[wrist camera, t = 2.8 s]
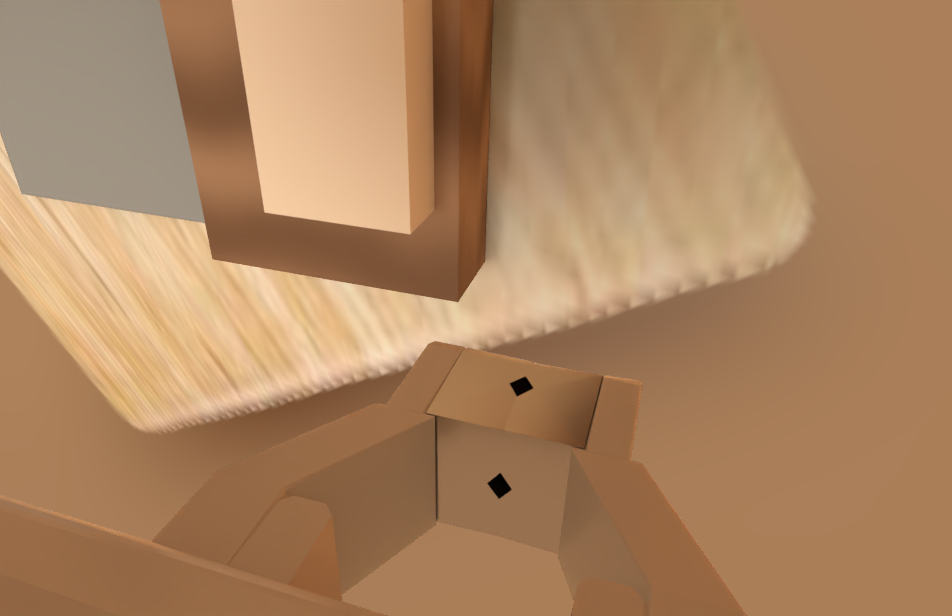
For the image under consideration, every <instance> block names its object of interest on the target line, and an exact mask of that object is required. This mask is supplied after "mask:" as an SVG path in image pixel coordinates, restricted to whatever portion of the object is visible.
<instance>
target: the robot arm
mask: <svg viewBox="0 0 952 616" xmlns="http://www.w3.org/2000/svg"><path fill="white" fill-rule="evenodd" d="M641 391H642V383H641V381H637V380H631V379H625V378H619V377H613V376H606V375H605V376H604V377H603V376H602V375H597V374H591V373H586V372H580V371H575V370H569V369H564V368H558V367H553V366H547V365H542V364H536V363H534V362H531V361H526V360H522V359H517V358H512V357H508V356H503V355H498V354H494V353H489V352H485V351H480V350H476V349H471V348H467V349H466V348H465V347H462V346H457V345H451V344H446V343H441V342H436V341H435V342H432V343H430V344H428V345H427V347H426V348H425V350H424V351H423V352H422V354H421V355H420V357H419V358H418V360H417V361H416V362H415V364H414V365H413V367H412V368H411V370H410V371H409V372H408V374H407V375H406V377H405V378H404V380H403V381H402V383H401V384H400V385H399V387H398V388H397V390H396V391H395V393H394V394H393V396H392V397H391V398H390V400H389V401H388V403H387V404H386V405H383V404H378V403H375V404H373V405H370V406H368V407H366V408H364V409H361V410H359V411H357V412H354V413H352V414H349V415H347V416H345V417H342V418H340V419H337V420H335V421H333V422H330V423H328V424H326V425H323V426H321V427H319V428H316V429H314V430H312V431H309V432H307V433H305V434H302V435H300V436H297V437H295V438H293V439H290V440H288V441H285V442H283V443H281V444H278V445H276V446H274V447H271V448H269V449H267V450H264V451H262V452H260V453H257V454H255V455H252V456H250V457H248V458H246V459H243V460H241V461H239V462H236V463H234V464H231V465H229V466H226V467H224V468H222V469H219V470H217V471H216V472H215V473H214V474H213V475H212V476H211V477H210V478H209V479H208V481H207V482H206V483H205V484H204V485H203V486H202V487H201V488H200V489H199V490H198V491H197V493H195V495H194V496H193V497H192V498H191V499H190V500H189V501H188V502H187V503H186V504H185V505H184V506H183V507H182V509H181V510H180V511H179V512H178V513H177V514H176V515H175V516H174V517H173V518H172V519H171V521H169V523H168V524H167V525H166V526H165V527H164V528H163V529H162V530H161V531H160V532H159V533H158V534H157V536H156V537H155V538H154V539H153V540H152V541H151V542H150V541H147V540H144V539H141V538H137V537H134V536H131V535H128V534H124V533H121V532H118V531H115V530H112V529H109V528H105V527H102V526H99V525H95V524H93V523H89V522H86V521H83V520H80V519H77V518H73V517H70V516H67V515H64V514H61V513H57V512H54V511H51V510H48V509H45V508H41V507H38V506H35V505H31V504H29V503H25V502H22V501H19V500H16V499H13V498H9V497H6V496H3V495H0V616H387V615H384V614H381V613H377V612H374V611H371V610H368V609H365V608H361V607H358V606H355V605H352V604H349V603H345V602H342V594H343V593H345V592H346V591H347V590H349V589H350V588H351V587H353V586H354V585H356V584H357V583H358V582H360V581H361V580H362V579H364V578H365V577H366V576H368V575H369V574H370V573H372V572H373V571H374V570H376V569H377V568H378V567H380V566H381V565H382V564H384V563H385V562H386V561H388V560H389V559H391V558H392V557H393V556H395V555H396V554H397V553H399V552H400V551H401V550H403V549H404V548H405V547H407V546H408V545H409V544H411V543H412V542H414V541H415V540H416V539H418V538H419V537H420V536H422V535H423V534H424V533H426V532H427V531H428V530H430V529H431V528H432V527H434V526H435V525H436V521H437V522H441V523H445V524H450V525H454V526H458V527H462V528H467V529H471V530H475V531H479V532H484V533H488V534H492V535H496V536H499V537H503V538H506V539H509V540H513V541H516V542H520V543H523V544H526V545H530V546H533V547H537V548H540V549H543V550H546V551H550V552H553V553H557V554H558V559H559V561H560V564H561V567H562V570H563V572H564V575H565V578H566V581H567V584H568V586H569V589H570V592H571V594H572V597H573V600H574V604H573V608H572V612H571V616H747V615H746V614H745V612H744V611H743V609H742V608H741V606H740V605H739V604H738V602H737V601H736V599H735V598H734V596H733V595H732V593H731V592H730V590H729V589H728V587H727V586H726V584H725V583H724V582H723V580H722V579H721V577H720V576H719V574H718V573H717V571H716V570H715V568H714V567H713V566H712V564H711V563H710V561H709V560H708V558H707V557H706V555H705V554H704V552H703V551H702V550H701V548H700V547H699V545H698V544H697V543H696V541H695V540H694V538H693V537H692V535H691V534H690V532H689V531H688V529H687V528H686V526H685V525H684V523H683V522H682V520H681V519H680V518H679V516H678V515H677V513H676V512H675V510H674V509H673V507H672V506H671V504H670V503H669V502H668V500H667V499H666V497H665V496H664V494H663V493H662V491H661V490H660V489H659V487H658V485H657V484H656V483H655V481H654V480H653V478H652V477H651V475H650V474H649V472H648V471H647V469H646V468H645V467H644V465H643V464H642V463H639V462H635V461H631V456H632V450H633V443H634V436H635V430H636V422H637V417H638V410H639V404H640V397H641Z"/></svg>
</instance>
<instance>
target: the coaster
mask: <svg viewBox="0 0 952 616" xmlns="http://www.w3.org/2000/svg"><path fill="white" fill-rule="evenodd" d="M232 5H233V12H234V18H235V25H236V31H237V38H238V44H239V50H240V57H241V63H242V70H243V76H244V83H245V89H246V96H247V102H248V109H249V115H250V122H251V128H252V135H253V141H254V148H255V154H256V161H257V167H258V174H259V180H260V186H261V193H262V199H263V206H264V212H265V213H271V214H278V215H285V216H291V217H298V218H305V219H311V220H318V221H324V222H331V223H338V224H344V225H351V226H358V227H364V228H371V229H378V230H384V231H391V232H397V233H404V234H411V233H412V232H413V231H414V230H415V229H416V228H417V227H418V226H419V225H420V224H421V223H422V222H423V221H424V220H425V219H426V218H427V217H428V216H429V215H430V214H431V213H432V212H433V211H434V210H435V209H434V123H433V36H432V0H232Z"/></svg>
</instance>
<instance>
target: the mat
mask: <svg viewBox="0 0 952 616" xmlns="http://www.w3.org/2000/svg"><path fill="white" fill-rule="evenodd" d="M0 133H1V136H2V139H3V142H4V145H5V148H6V150H7V153H8V156H9V159H10V162H11V165H12V167H13V170H14V173H15V176H16V179H17V182H18V185H19V187H20V190H21V193H22V194H25V195H32V196H38V197H44V198H51V199H57V200H63V201H69V202H76V203H82V204H88V205H95V206H101V207H107V208H113V209H120V210H126V211H132V212H139V213H145V214H151V215H157V216H164V217H170V218H176V219H183V220H189V221H195V222H201V223H205V220H204V215H203V210H202V205H201V200H200V195H199V191H198V186H197V181H196V176H195V171H194V166H193V161H192V157H191V152H190V147H189V142H188V137H187V132H186V127H185V123H184V118H183V113H182V108H181V103H180V98H179V93H178V89H177V84H176V79H175V74H174V69H173V64H172V60H171V55H170V50H169V45H168V40H167V35H166V30H165V26H164V21H163V16H162V11H161V6H160V1H159V0H0Z"/></svg>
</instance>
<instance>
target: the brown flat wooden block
mask: <svg viewBox="0 0 952 616" xmlns="http://www.w3.org/2000/svg"><path fill="white" fill-rule="evenodd" d="M159 1H160V6H161V11H162V16H163V21H164V26H165V30H166V35H167V40H168V45H169V50H170V55H171V60H172V64H173V69H174V74H175V79H176V84H177V89H178V93H179V98H180V103H181V108H182V113H183V118H184V123H185V127H186V132H187V137H188V142H189V147H190V152H191V157H192V161H193V166H194V171H195V176H196V181H197V186H198V191H199V195H200V200H201V205H202V210H203V215H204V220H205V225H206V229H207V234H208V239H209V244H210V249H211V254H212V258H213V259H214V260H220V261H226V262H232V263H237V264H243V265H249V266H254V267H260V268H266V269H272V270H277V271H283V272H289V273H295V274H300V275H306V276H312V277H318V278H323V279H329V280H335V281H341V282H346V283H352V284H358V285H364V286H369V287H375V288H381V289H386V290H392V291H398V292H404V293H409V294H415V295H421V296H427V297H432V298H438V299H444V300H450V301H455V302H458V301H459V300H460V298H461V297H462V295H463V294H464V292H465V291H466V289H467V288H468V286H469V285H470V283H471V282H472V280H473V279H474V277H475V276H476V274H477V272H478V271H479V269H480V268H481V266H482V265H483V263H484V262H485V239H486V208H487V177H488V145H489V114H490V83H491V51H492V20H493V0H432V36H433V123H434V209H435V210H434V211H433V212H432V213H431V214H430V215H429V216H428V217H427V218H426V219H425V220H424V221H423V222H422V223H421V224H420V225H419V226H418V227H417V228H416V229H415V230H414V231H413V232H412V233H411V234H404V233H397V232H391V231H384V230H378V229H371V228H364V227H358V226H351V225H344V224H338V223H331V222H324V221H318V220H311V219H305V218H298V217H291V216H285V215H278V214H271V213H265V212H264V206H263V199H262V193H261V186H260V180H259V174H258V167H257V161H256V154H255V148H254V141H253V135H252V128H251V122H250V115H249V109H248V102H247V96H246V89H245V83H244V76H243V70H242V63H241V57H240V50H239V44H238V38H237V31H236V25H235V18H234V12H233V5H232V0H159Z"/></svg>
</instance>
